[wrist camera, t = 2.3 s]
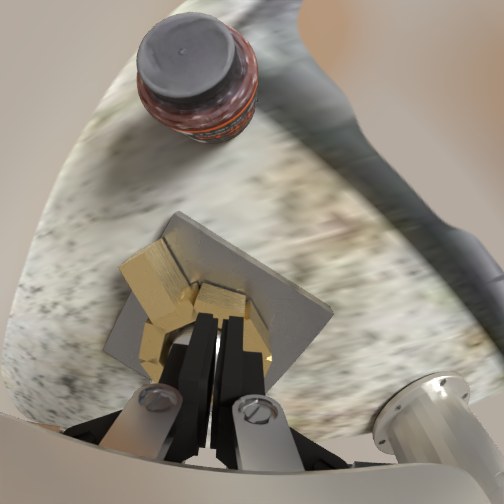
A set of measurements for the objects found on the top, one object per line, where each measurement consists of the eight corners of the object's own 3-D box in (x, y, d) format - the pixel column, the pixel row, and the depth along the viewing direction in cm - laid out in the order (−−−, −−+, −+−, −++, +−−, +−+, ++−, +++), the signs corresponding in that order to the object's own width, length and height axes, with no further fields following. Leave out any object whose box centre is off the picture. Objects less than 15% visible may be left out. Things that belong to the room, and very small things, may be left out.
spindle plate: (329, 306, 25) (346, 338, 20) (229, 420, 28) (226, 459, 23) (179, 210, 23) (159, 223, 18) (104, 352, 26) (81, 384, 21)
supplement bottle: (212, 161, 22) (173, 156, 11) (159, 106, 21) (85, 65, 10) (273, 106, 21) (292, 54, 10) (218, 53, 20) (191, -28, 9)
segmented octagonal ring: (285, 361, 24) (289, 392, 20) (190, 396, 25) (182, 427, 22) (204, 214, 21) (194, 225, 17) (104, 270, 22) (80, 289, 19)
